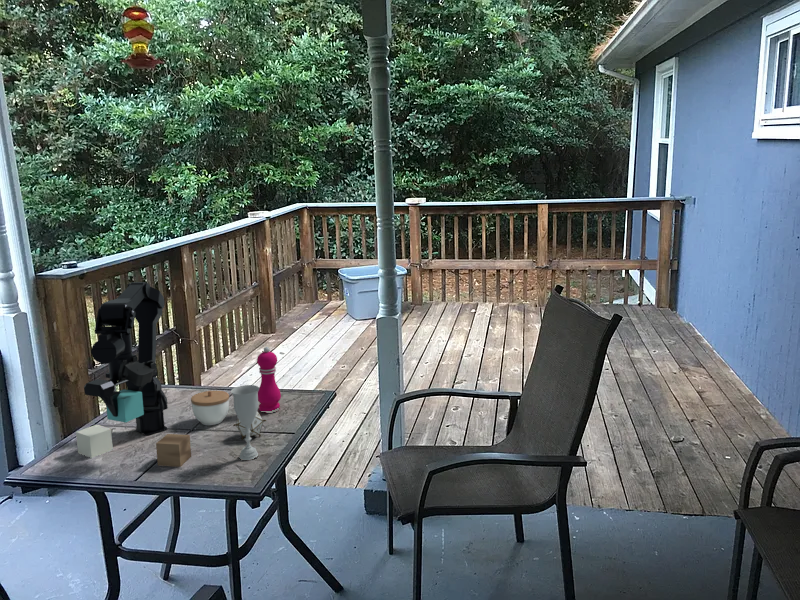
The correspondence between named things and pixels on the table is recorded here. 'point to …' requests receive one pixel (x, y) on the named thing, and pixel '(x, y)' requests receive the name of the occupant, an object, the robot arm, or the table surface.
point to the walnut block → (173, 450)
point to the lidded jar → (210, 406)
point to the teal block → (128, 406)
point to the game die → (251, 426)
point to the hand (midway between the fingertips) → (125, 412)
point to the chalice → (246, 414)
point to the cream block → (94, 441)
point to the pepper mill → (268, 381)
